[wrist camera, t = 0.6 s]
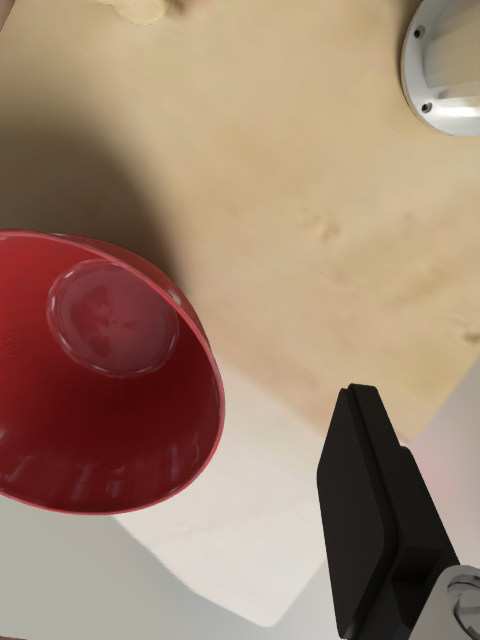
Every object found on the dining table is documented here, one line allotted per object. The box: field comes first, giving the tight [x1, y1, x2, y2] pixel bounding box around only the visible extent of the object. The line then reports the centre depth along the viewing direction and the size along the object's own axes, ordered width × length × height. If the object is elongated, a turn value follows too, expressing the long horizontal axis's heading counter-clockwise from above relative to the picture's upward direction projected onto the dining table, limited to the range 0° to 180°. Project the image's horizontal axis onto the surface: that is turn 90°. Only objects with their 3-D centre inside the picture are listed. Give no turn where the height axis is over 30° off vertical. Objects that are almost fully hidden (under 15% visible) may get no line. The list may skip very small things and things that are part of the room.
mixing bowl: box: [0, 229, 225, 515], centre depth 39 cm, size 28×28×16 cm
